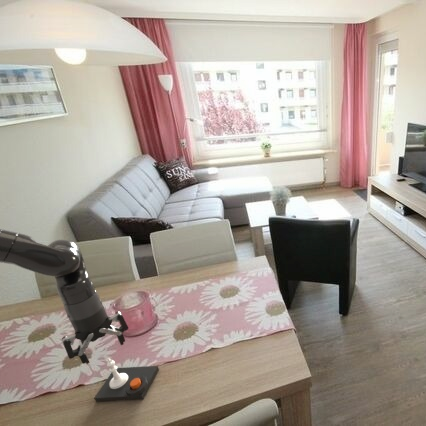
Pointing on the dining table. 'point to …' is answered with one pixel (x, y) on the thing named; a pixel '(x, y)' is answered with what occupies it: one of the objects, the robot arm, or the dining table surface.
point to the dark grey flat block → (128, 385)
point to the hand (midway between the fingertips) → (105, 352)
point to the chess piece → (116, 375)
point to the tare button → (135, 383)
